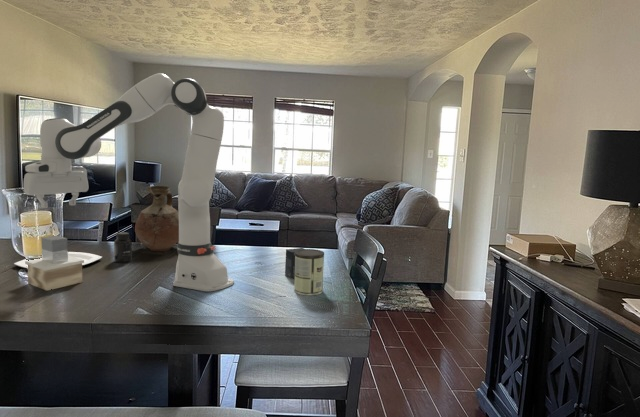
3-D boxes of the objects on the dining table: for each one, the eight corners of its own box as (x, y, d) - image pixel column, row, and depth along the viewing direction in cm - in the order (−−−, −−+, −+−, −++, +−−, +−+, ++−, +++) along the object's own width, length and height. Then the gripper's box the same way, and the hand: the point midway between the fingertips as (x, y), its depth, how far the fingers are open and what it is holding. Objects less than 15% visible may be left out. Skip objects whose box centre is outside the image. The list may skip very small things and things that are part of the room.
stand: (84, 282, 154) (84, 260, 153) (45, 291, 143) (44, 267, 142) (64, 275, 161) (63, 254, 160) (26, 283, 150) (24, 261, 149)
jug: (126, 253, 197) (125, 187, 194) (147, 243, 219) (146, 183, 215) (174, 255, 197) (173, 189, 193) (189, 245, 218) (189, 185, 214)
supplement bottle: (127, 263, 180) (126, 235, 179) (111, 262, 181) (110, 234, 179) (134, 259, 187) (134, 232, 186) (119, 258, 187) (118, 231, 186)
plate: (112, 260, 186) (111, 255, 186) (59, 277, 160) (58, 272, 160) (61, 254, 193) (60, 249, 193) (2, 269, 167) (2, 264, 167)
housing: (57, 257, 155) (56, 235, 154) (68, 260, 151) (67, 238, 150) (42, 260, 151) (41, 237, 150) (53, 263, 147) (52, 240, 146)
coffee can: (299, 285, 161) (300, 247, 159) (326, 288, 158) (327, 250, 156) (289, 293, 151) (290, 253, 149) (317, 297, 148) (319, 256, 146)
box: (291, 278, 168) (292, 252, 167) (284, 275, 173) (285, 249, 171) (309, 276, 172) (310, 250, 171) (301, 272, 177) (302, 247, 176)
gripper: (81, 165, 160) (83, 202, 162) (19, 166, 142) (22, 208, 144) (91, 166, 156) (93, 204, 158) (29, 167, 139) (32, 210, 141)
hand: (58, 206), depth 151 cm, fingers open, 8 cm apart
